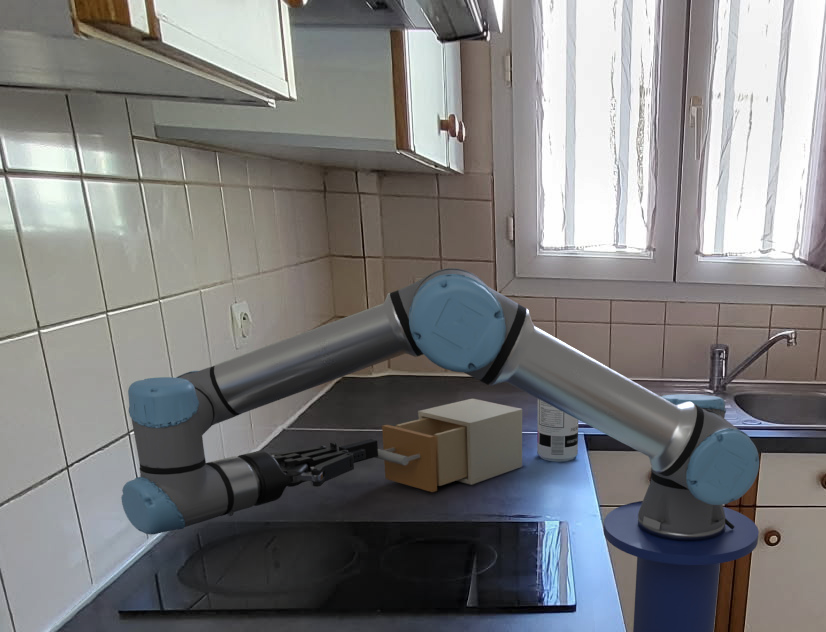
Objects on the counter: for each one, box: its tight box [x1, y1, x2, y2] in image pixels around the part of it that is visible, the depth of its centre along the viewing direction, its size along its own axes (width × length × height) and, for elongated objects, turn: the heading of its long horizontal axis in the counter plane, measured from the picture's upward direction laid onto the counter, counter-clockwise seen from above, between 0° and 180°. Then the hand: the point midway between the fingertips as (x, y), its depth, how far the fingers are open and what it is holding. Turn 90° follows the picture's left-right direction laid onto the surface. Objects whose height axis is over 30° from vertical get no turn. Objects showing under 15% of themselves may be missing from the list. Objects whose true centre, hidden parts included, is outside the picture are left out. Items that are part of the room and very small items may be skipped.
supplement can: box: [536, 398, 579, 463], centre depth 167 cm, size 8×8×15 cm
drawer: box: [374, 417, 468, 493], centre depth 147 cm, size 18×11×10 cm, turn 150°
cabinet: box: [417, 398, 523, 486], centre depth 157 cm, size 15×13×12 cm
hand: (374, 447), depth 137 cm, fingers closed
